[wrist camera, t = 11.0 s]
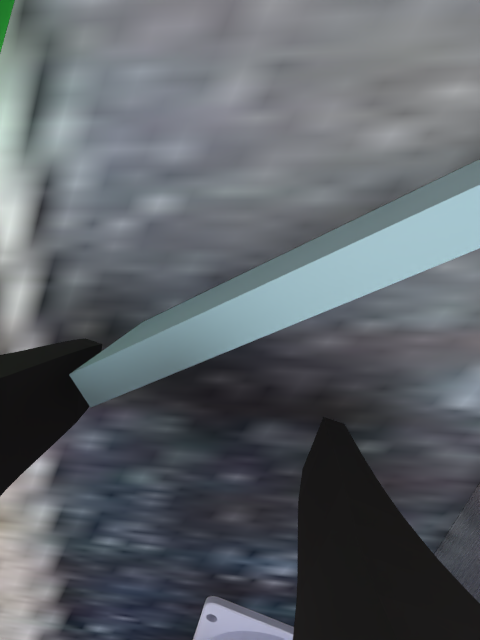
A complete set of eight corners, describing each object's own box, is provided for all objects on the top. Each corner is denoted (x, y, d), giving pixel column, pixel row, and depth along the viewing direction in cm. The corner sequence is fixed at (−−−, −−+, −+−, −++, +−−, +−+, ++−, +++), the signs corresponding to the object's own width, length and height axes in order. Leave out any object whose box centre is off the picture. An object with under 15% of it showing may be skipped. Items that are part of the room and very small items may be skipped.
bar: (537, 175, 9) (693, 160, 5) (156, 346, 13) (90, 407, 9) (526, 136, 9) (678, 93, 5) (142, 322, 13) (69, 374, 9)
